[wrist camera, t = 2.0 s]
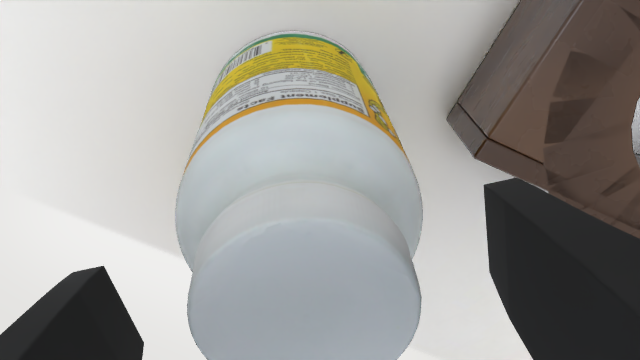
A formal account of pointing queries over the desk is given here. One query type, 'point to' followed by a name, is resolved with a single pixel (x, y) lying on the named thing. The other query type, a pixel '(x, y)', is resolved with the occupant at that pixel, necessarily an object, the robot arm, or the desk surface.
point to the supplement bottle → (299, 211)
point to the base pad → (562, 104)
